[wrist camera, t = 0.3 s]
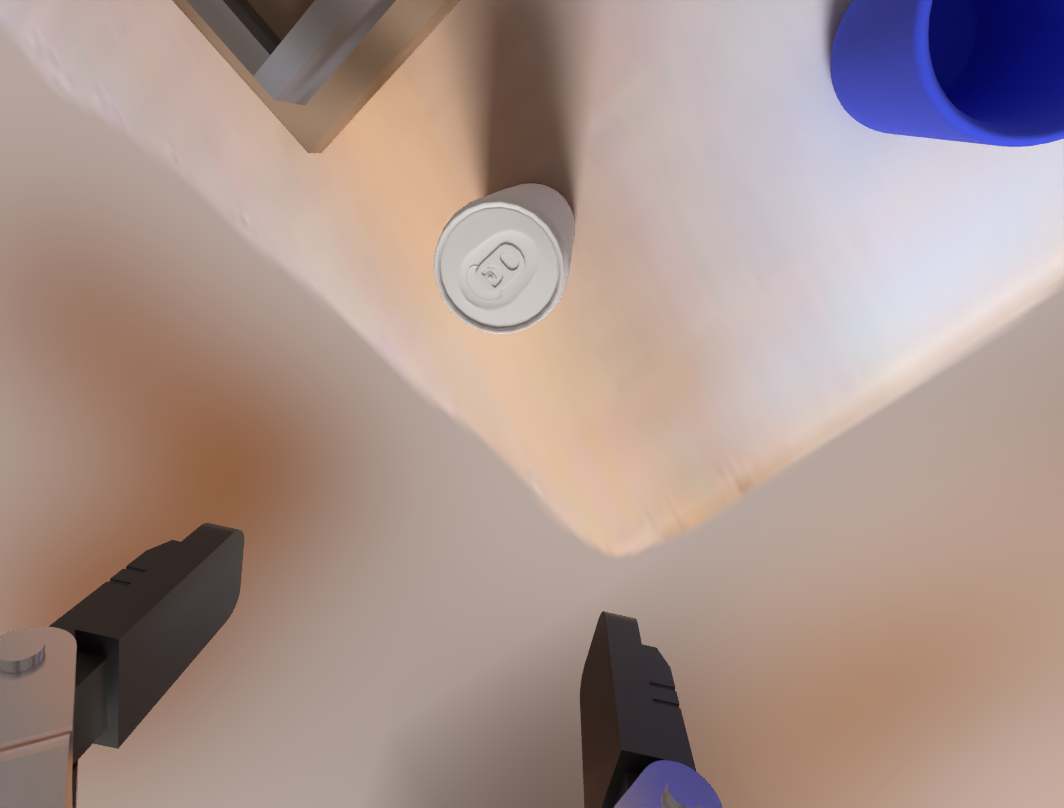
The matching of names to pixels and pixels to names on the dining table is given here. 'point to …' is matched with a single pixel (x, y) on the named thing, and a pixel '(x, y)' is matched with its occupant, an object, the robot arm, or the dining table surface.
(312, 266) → the dining table surface
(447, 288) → the beverage can
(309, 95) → the can holder
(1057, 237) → the dining table surface
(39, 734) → the robot arm
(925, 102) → the mug
